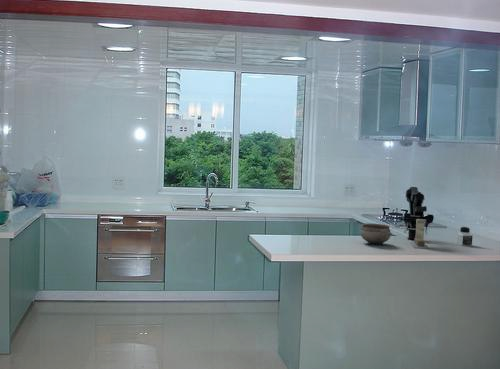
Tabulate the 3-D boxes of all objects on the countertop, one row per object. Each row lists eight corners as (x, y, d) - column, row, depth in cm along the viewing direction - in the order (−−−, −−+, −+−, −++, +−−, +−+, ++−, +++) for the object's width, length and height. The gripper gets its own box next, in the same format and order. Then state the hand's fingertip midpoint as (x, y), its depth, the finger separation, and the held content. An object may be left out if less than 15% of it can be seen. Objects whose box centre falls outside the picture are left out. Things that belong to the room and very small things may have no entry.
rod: (415, 239, 388) (416, 219, 387) (422, 239, 387) (423, 219, 386) (416, 240, 383) (417, 219, 383) (423, 240, 383) (424, 220, 382)
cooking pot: (350, 242, 390) (351, 223, 389) (369, 240, 402) (370, 222, 401) (381, 248, 370) (382, 228, 370) (400, 245, 383) (401, 226, 382)
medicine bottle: (462, 245, 395) (463, 227, 394) (456, 244, 402) (457, 226, 401) (472, 245, 397) (473, 227, 396) (465, 244, 404) (467, 226, 403)
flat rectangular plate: (409, 243, 396) (410, 237, 396) (423, 244, 395) (424, 238, 395) (413, 248, 376) (414, 241, 376) (428, 248, 375) (429, 242, 375)
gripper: (405, 200, 394) (406, 219, 383) (434, 202, 391) (436, 221, 381) (402, 211, 402) (403, 230, 392) (431, 213, 400) (433, 231, 389)
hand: (419, 228), depth 388 cm, fingers open, 9 cm apart
